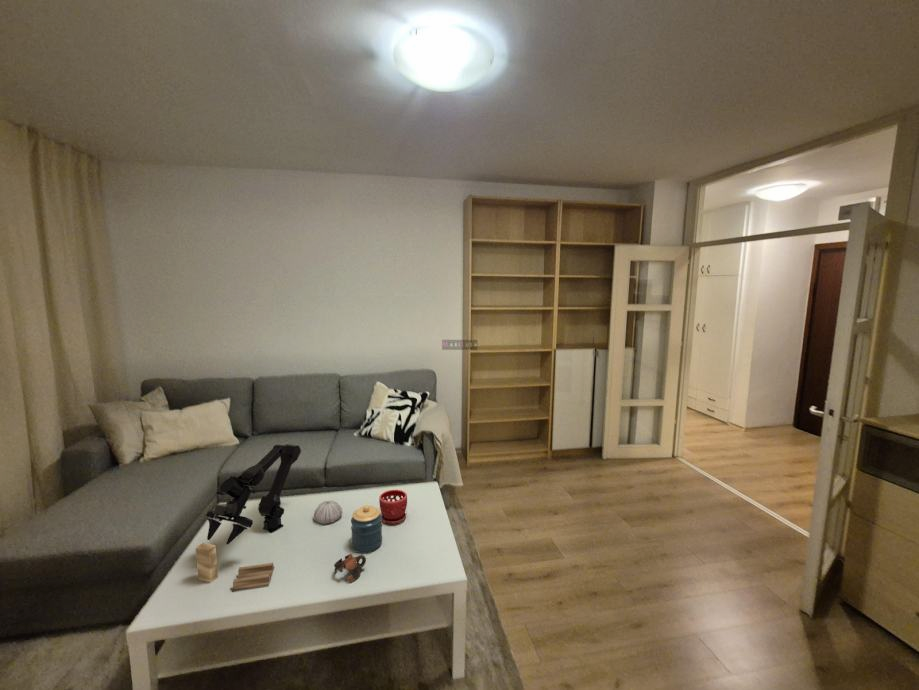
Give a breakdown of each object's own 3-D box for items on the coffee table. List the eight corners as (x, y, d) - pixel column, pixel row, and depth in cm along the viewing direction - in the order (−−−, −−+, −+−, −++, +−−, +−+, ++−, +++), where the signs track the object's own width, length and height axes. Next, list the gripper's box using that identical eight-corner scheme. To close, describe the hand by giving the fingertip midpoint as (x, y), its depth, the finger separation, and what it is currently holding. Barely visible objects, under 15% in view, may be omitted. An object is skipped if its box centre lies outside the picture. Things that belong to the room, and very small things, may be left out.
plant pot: (412, 516, 192) (412, 493, 191) (394, 529, 181) (394, 505, 180) (392, 508, 199) (392, 486, 197) (373, 520, 188) (373, 497, 186)
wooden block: (205, 574, 151) (202, 542, 150) (217, 577, 150) (215, 545, 148) (198, 579, 149) (195, 547, 147) (210, 582, 147) (208, 550, 145)
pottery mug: (342, 589, 145) (333, 568, 146) (338, 584, 153) (329, 564, 154) (372, 569, 152) (363, 548, 153) (366, 565, 159) (358, 546, 160)
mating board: (240, 572, 152) (240, 565, 152) (274, 567, 155) (273, 560, 155) (232, 591, 143) (232, 584, 142) (268, 586, 146) (268, 578, 145)
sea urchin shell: (307, 522, 187) (306, 506, 185) (327, 508, 199) (326, 493, 198) (329, 528, 181) (329, 512, 180) (348, 513, 194) (348, 498, 193)
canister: (388, 543, 171) (387, 505, 169) (362, 558, 162) (361, 518, 159) (370, 531, 180) (370, 494, 177) (345, 544, 170) (344, 506, 168)
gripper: (207, 491, 158) (183, 532, 149) (245, 498, 153) (223, 541, 144) (225, 499, 167) (203, 539, 157) (261, 506, 162) (241, 548, 152)
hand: (217, 542), depth 153 cm, fingers open, 9 cm apart
